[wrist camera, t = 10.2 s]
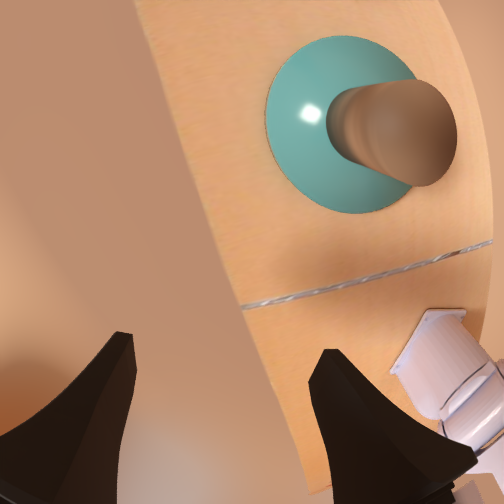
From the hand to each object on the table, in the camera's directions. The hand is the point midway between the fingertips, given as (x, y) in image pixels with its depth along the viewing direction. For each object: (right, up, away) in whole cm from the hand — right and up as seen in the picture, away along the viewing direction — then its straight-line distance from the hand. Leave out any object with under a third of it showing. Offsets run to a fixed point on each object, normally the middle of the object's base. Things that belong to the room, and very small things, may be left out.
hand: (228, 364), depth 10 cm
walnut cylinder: (+8, +12, +5) cm, 15 cm away
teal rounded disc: (+8, +13, +6) cm, 16 cm away
